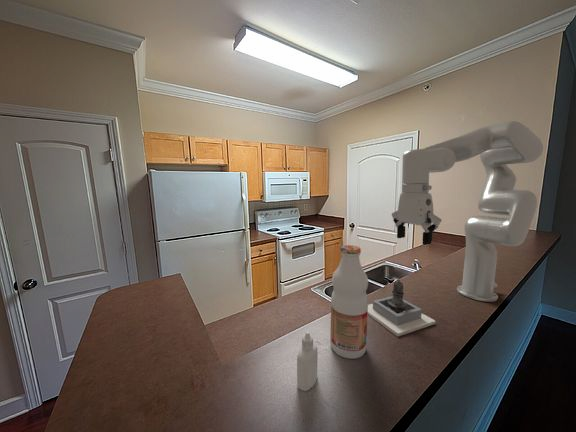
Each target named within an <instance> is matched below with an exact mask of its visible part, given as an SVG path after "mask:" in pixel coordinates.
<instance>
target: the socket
mask: <svg viewBox="0 0 576 432" xmlns="http://www.w3.org/2000/svg"><path fill="white" fill-rule="evenodd" d="M392 298H393V295H391V296H387V297H383V298H379V299H378V298H377V299H375V300H373V301H372V303H370V304H369V303H368V313H367V316H369V317H371V318H372V319H373V320H375V321H376V322H377V323H378V324H380V325H382V326H383V327H384V328H386V329H387V330H388V331H389V332H391V333H392V334H393V335H395V337H401V336H405V335H407V334H410V333H413V332H415V331H418V330H422V329H424V328H427V327H430V326H433V325H436V320H435V319H433V318H431V317H430V316H428V315H426V314H424V313H423V311H422V308H420V307H418V306H417V305H414V304H413V303H411V302H409V301H407V300H405V299H403V301H404V302H405V303H406V304H407V307H406V309H405V311H403V312H402V313H398V314H397V313H395V312H394V311H392V310H391V309H390V307H389V304H388V300H390V299H392Z"/></svg>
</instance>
